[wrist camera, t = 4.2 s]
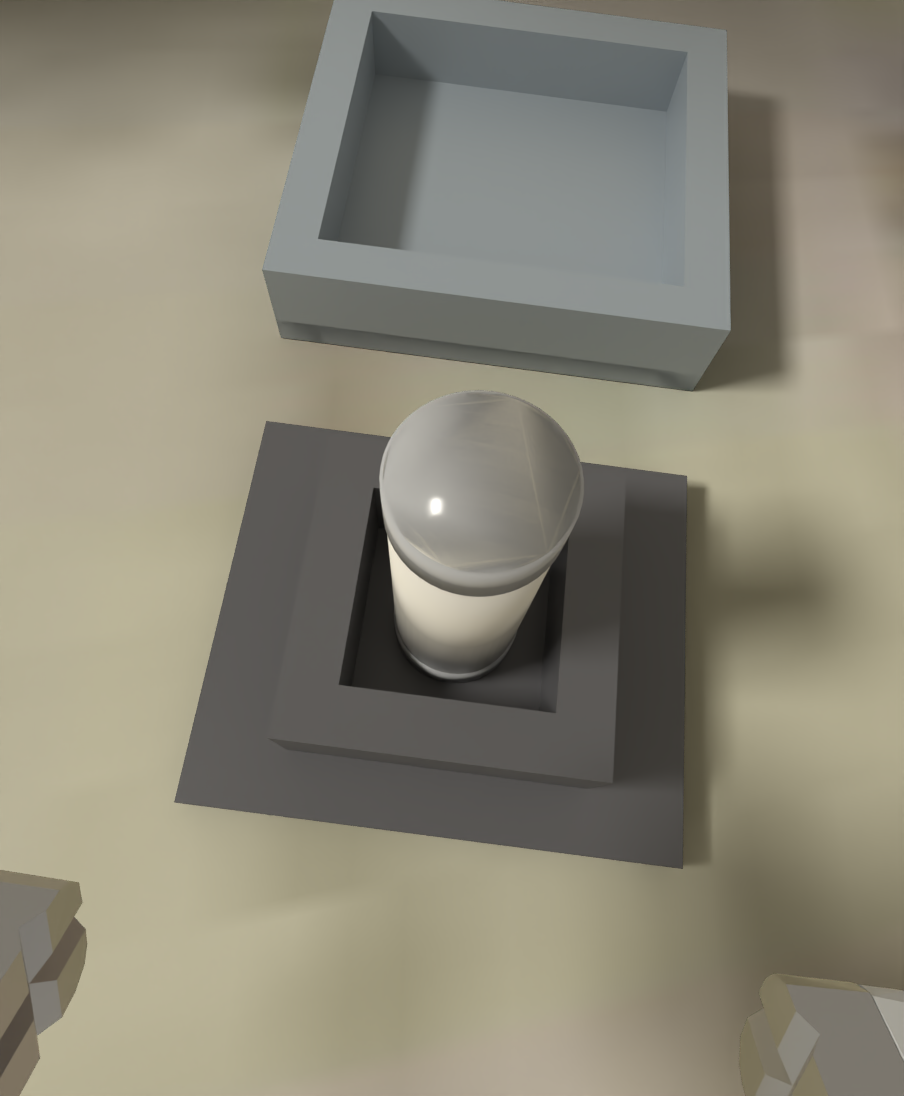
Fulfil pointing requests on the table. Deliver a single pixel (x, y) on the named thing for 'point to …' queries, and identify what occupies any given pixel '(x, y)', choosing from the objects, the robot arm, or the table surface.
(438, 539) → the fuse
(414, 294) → the parts tray
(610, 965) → the table surface
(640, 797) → the fuse holder
